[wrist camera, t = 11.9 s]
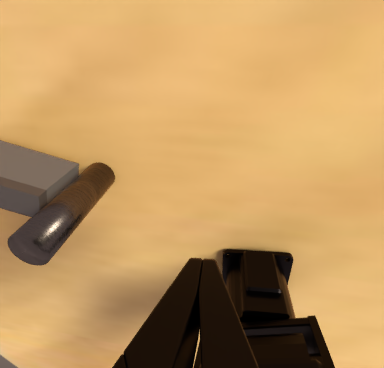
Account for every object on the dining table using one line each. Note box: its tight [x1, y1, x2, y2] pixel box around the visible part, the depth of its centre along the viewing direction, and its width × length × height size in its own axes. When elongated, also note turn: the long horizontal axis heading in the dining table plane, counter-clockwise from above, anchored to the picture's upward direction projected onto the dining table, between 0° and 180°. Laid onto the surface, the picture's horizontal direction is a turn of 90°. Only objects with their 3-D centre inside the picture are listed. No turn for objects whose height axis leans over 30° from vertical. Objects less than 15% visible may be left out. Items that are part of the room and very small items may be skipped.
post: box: [8, 163, 115, 265], centre depth 17 cm, size 2×2×9 cm
